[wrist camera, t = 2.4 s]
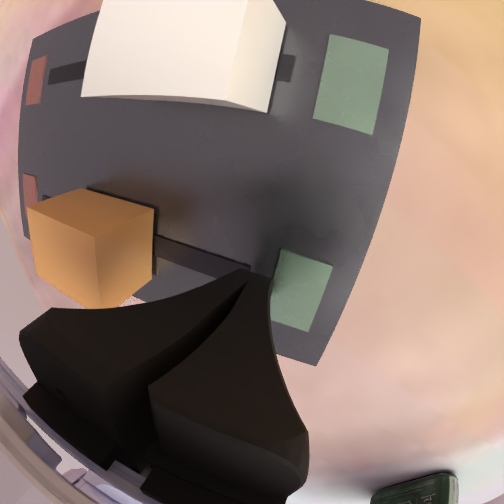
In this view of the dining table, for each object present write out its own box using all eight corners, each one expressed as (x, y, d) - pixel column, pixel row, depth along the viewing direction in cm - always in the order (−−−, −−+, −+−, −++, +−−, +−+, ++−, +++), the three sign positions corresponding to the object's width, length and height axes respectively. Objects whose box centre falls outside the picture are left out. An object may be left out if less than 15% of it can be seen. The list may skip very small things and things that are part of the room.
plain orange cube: (151, 279, 13) (103, 318, 10) (83, 248, 14) (36, 275, 11) (153, 209, 11) (94, 236, 8) (80, 188, 12) (26, 206, 9)
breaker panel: (319, 345, 13) (315, 367, 12) (38, 229, 18) (23, 236, 16) (412, 31, 7) (421, 17, 5) (48, 40, 11) (32, 38, 10)
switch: (266, 112, 9) (225, 100, 5) (147, 100, 10) (80, 97, 6) (286, 22, 7) (255, -27, 4) (163, 23, 8) (104, -1, 5)
